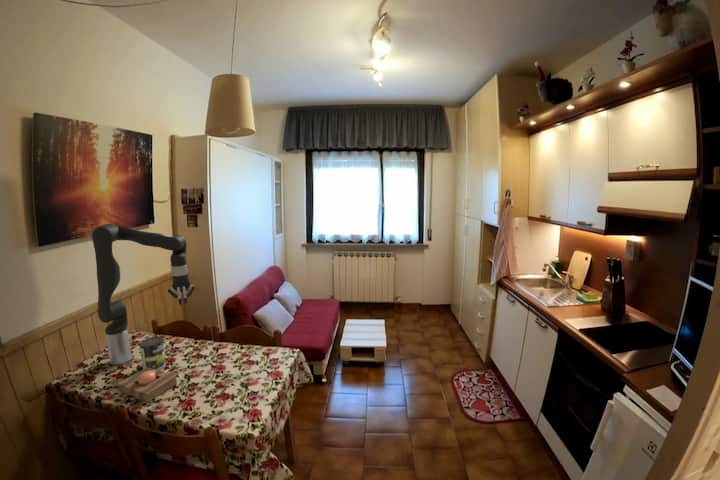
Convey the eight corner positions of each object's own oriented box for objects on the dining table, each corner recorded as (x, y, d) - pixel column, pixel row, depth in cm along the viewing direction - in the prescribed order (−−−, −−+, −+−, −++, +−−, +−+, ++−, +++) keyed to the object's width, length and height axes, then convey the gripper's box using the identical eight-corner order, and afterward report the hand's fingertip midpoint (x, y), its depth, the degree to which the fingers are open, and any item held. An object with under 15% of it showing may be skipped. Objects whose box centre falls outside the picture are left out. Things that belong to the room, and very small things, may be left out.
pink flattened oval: (135, 386, 145) (134, 377, 144) (149, 377, 151) (148, 369, 150) (145, 389, 142) (144, 380, 141) (159, 380, 148) (158, 372, 148)
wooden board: (118, 391, 144) (117, 383, 143) (148, 374, 157) (147, 366, 156) (148, 402, 137) (146, 394, 136) (176, 383, 150) (175, 375, 149)
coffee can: (170, 361, 168) (167, 337, 165) (154, 372, 158) (151, 347, 155) (154, 359, 170) (151, 335, 167) (137, 370, 160) (133, 345, 157)
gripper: (163, 276, 157) (167, 309, 160) (193, 273, 162) (197, 304, 165) (166, 273, 164) (170, 303, 167) (195, 270, 169) (198, 300, 172)
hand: (183, 304), depth 166 cm, fingers closed
